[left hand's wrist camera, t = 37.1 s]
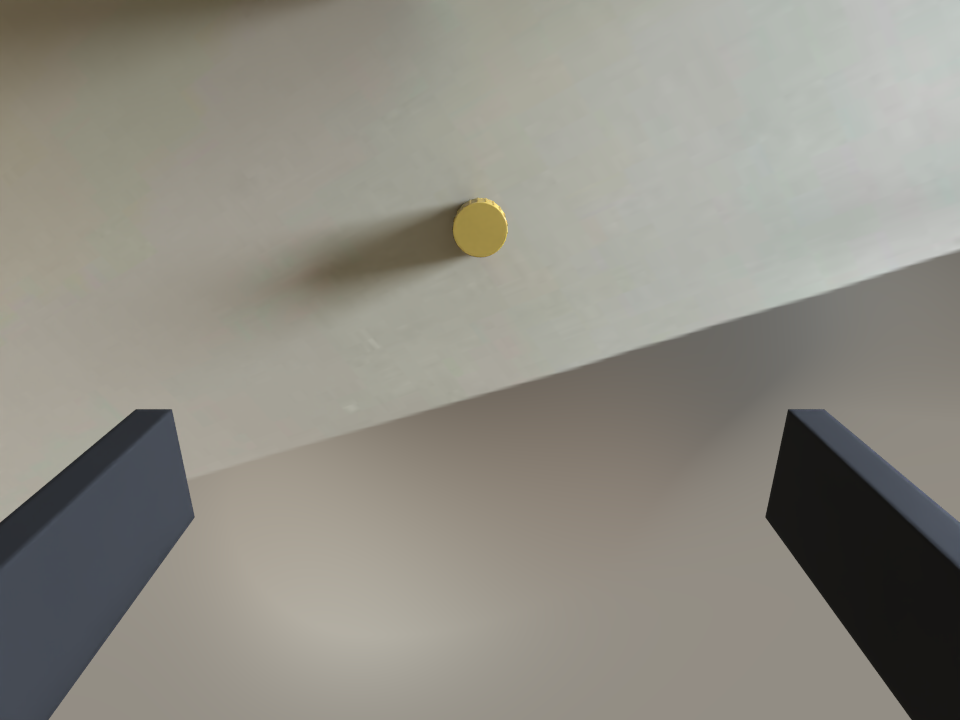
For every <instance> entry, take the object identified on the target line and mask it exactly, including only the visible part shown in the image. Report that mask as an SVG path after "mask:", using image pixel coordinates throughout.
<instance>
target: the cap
mask: <svg viewBox="0 0 960 720" xmlns="http://www.w3.org/2000/svg"><path fill="white" fill-rule="evenodd" d="M453 222H454V224H453V228H452V230H453V235H454V239H455V242H456V243H457V245H458V246H459V248H460V249H461V250H462V251H463V252H465V253H466V254H468V255H471V256H474V257H486V256H490V255H492V254H494V253H495V252H497V251H498V250H499V249H500V248H501V247H502V245H503V244H504V242H505V240H506V237H507V234H508V232H507V225H508V224H507V220H506V219H505V213H503V211H502V210H501V208H500V206H498V205H497V204H496V203H494V201H493V202H492V201H490V200H488V199H487V198H485V199H483V198H477V199H473V200H471V199H470V200H469V201H468V202H466V203H465V204H463V205H462V206H461V207H460V209H459V210H457V214H456V216H455V217H454V220H453Z"/></svg>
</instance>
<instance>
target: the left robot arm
mask: <svg viewBox="0 0 960 720" xmlns="http://www.w3.org/2000/svg"><path fill="white" fill-rule="evenodd" d="M193 519H194V512H193V507H192V503H191V498H190V493H189V489H188V484H187V479H186V474H185V470H184V465H183V460H182V455H181V451H180V446H179V441H178V436H177V432H176V427H175V422H174V417H173V413H172V409H136V410H135V411H133V412H132V413H131V414H130V415H129V416H127V417H126V418H125V419H124V420H123V421H121V422H120V423H119V424H118V425H117V426H115V427H114V428H113V429H112V430H111V431H109V432H108V433H107V434H106V435H105V436H103V437H102V438H101V439H100V440H99V441H97V442H96V443H95V444H94V445H93V446H91V447H90V448H89V449H88V450H87V451H85V452H84V453H83V454H82V455H81V456H79V457H78V458H77V459H76V460H75V461H73V462H72V463H71V464H70V465H69V466H68V467H66V468H65V469H64V470H63V471H62V472H60V473H59V474H58V475H57V476H56V477H54V478H53V479H52V480H51V481H50V482H48V483H47V484H46V485H45V486H44V487H42V488H41V489H40V490H39V491H38V492H36V493H35V494H34V495H33V496H32V497H30V498H29V499H28V500H27V501H26V502H24V503H23V504H22V505H21V506H20V507H18V508H17V509H16V510H15V511H14V512H12V513H11V514H10V515H9V516H8V517H6V518H5V519H4V520H3V521H2V522H0V720H48V719H49V718H50V717H51V715H52V714H53V713H54V711H55V710H56V708H57V707H58V706H59V704H60V703H61V701H62V700H63V699H64V697H65V696H66V695H67V693H68V692H69V690H70V689H71V688H72V686H73V685H74V683H75V682H76V681H77V679H78V678H79V677H80V675H81V674H82V672H83V671H84V670H85V668H86V667H87V665H88V664H89V663H90V661H91V660H92V659H93V657H94V656H95V654H96V653H97V652H98V650H99V649H100V647H101V646H102V645H103V643H104V642H105V641H106V639H107V638H108V636H109V635H110V634H111V632H112V631H113V629H114V628H115V627H116V625H117V624H118V623H119V621H120V620H121V618H122V617H123V616H124V614H125V613H126V611H127V610H128V609H129V607H130V606H131V605H132V603H133V602H134V600H135V599H136V598H137V596H138V595H139V593H140V592H141V591H142V589H143V588H144V586H145V585H146V584H147V582H148V581H149V580H150V578H151V577H152V575H153V574H154V573H155V571H156V570H157V568H158V567H159V566H160V564H161V563H162V562H163V560H164V559H165V557H166V556H167V555H168V553H169V552H170V550H171V549H172V548H173V546H174V545H175V543H176V542H177V541H178V539H179V538H180V537H181V535H182V534H183V532H184V531H185V530H186V528H187V527H188V526H189V524H190V523H191V521H192V520H193ZM766 519H767V520H768V521H769V523H770V524H771V526H772V527H773V528H774V530H775V531H776V532H777V534H778V535H779V537H780V538H781V539H782V541H783V542H784V544H785V545H786V546H787V548H788V549H789V550H790V552H791V553H792V555H793V556H794V557H795V559H796V560H797V562H798V563H799V564H800V566H801V567H802V569H803V570H804V571H805V573H806V574H807V575H808V577H809V578H810V580H811V581H812V582H813V584H814V585H815V587H816V588H817V589H818V591H819V592H820V593H821V595H822V596H823V598H824V599H825V600H826V602H827V603H828V605H829V606H830V607H831V609H832V610H833V611H834V613H835V614H836V616H837V617H838V618H839V620H840V621H841V623H842V624H843V625H844V627H845V628H846V629H847V631H848V632H849V634H850V635H851V636H852V638H853V639H854V641H855V642H856V643H857V645H858V646H859V647H860V649H861V650H862V652H863V653H864V654H865V656H866V657H867V659H868V660H869V661H870V663H871V664H872V665H873V667H874V668H875V670H876V671H877V672H878V674H879V675H880V677H881V678H882V679H883V681H884V682H885V683H886V685H887V686H888V688H889V689H890V690H891V692H892V693H893V695H894V696H895V697H896V699H897V700H898V701H899V703H900V704H901V706H902V707H903V708H904V710H905V711H906V713H907V714H908V715H909V717H910V718H911V719H912V720H960V522H958V521H957V520H956V519H955V518H954V517H952V516H951V515H950V514H949V513H947V512H946V511H945V510H944V509H943V508H942V507H940V506H939V505H938V504H937V503H936V502H934V501H933V500H932V499H931V498H930V497H928V496H927V495H926V494H925V493H924V492H922V491H921V490H920V489H919V488H918V487H916V486H915V485H914V484H913V483H912V482H910V481H909V480H908V479H907V478H906V477H904V476H903V475H902V474H901V473H900V472H898V471H897V470H896V469H895V468H894V467H892V466H891V465H890V464H889V463H888V462H886V461H885V460H884V459H883V458H882V457H880V456H879V455H878V454H877V453H876V452H875V451H873V450H872V449H871V448H870V447H869V446H867V445H866V444H865V443H864V442H863V441H861V440H860V439H859V438H858V437H857V436H855V435H854V434H853V433H852V432H851V431H849V430H848V429H847V428H846V427H845V426H843V425H842V424H841V423H840V422H839V421H837V420H836V419H835V418H834V417H833V416H831V415H830V414H829V413H828V412H827V411H825V410H824V409H789V410H788V413H787V417H786V422H785V427H784V432H783V436H782V441H781V446H780V451H779V455H778V460H777V465H776V470H775V474H774V479H773V484H772V488H771V493H770V498H769V503H768V507H767V512H766Z"/></svg>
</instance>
